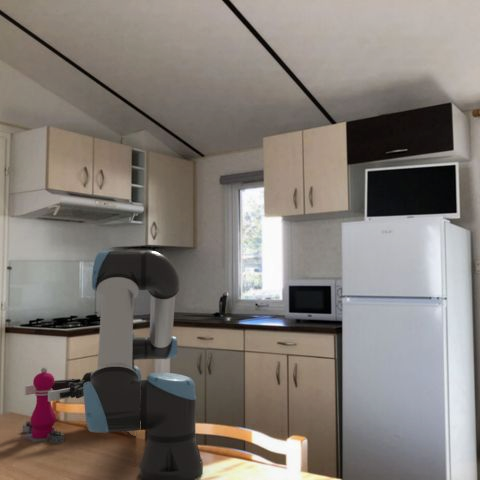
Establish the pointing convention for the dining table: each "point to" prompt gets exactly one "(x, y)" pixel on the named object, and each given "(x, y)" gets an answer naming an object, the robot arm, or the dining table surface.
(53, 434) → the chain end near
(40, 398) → the pepper mill
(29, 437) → the plate
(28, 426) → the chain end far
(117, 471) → the dining table surface
